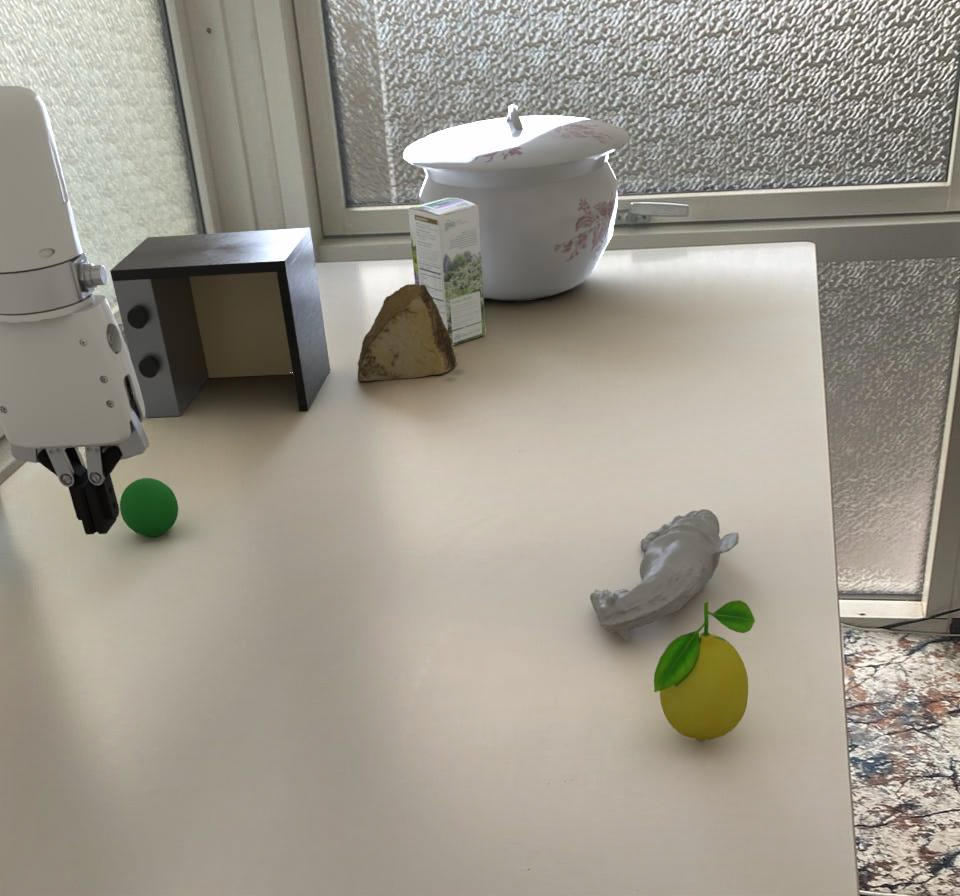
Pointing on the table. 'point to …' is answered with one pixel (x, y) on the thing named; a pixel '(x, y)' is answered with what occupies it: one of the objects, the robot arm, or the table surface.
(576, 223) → the chamber pot
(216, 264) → the mini oven
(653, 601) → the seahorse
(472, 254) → the syrup box
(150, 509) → the ball
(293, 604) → the table surface
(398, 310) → the rock
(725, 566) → the table surface
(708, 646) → the lemon
